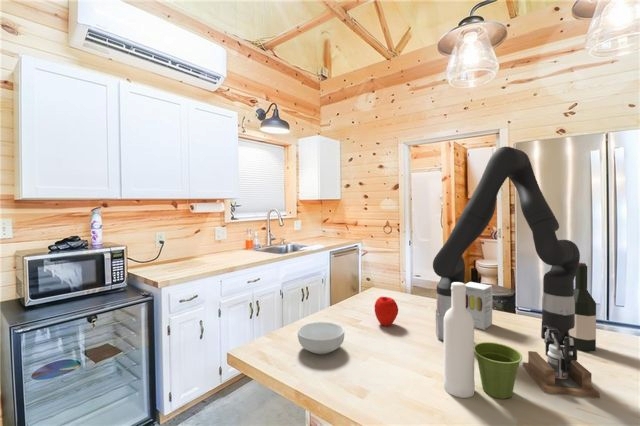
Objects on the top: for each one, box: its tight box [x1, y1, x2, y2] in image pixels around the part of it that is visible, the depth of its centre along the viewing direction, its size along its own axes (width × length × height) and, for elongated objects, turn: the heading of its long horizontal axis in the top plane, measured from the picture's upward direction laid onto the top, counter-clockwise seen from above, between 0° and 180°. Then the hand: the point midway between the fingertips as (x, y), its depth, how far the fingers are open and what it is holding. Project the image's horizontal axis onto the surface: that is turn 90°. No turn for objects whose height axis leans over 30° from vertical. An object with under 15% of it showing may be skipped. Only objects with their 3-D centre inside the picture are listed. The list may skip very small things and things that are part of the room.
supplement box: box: [464, 281, 493, 331], centre depth 133 cm, size 10×9×17 cm
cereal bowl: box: [297, 321, 345, 355], centre depth 113 cm, size 17×17×7 cm
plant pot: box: [474, 341, 523, 400], centre depth 86 cm, size 12×12×11 cm
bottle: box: [442, 282, 476, 399], centre depth 86 cm, size 8×8×30 cm
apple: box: [374, 296, 399, 327], centre depth 134 cm, size 10×10×12 cm
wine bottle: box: [569, 262, 597, 353], centre depth 110 cm, size 8×8×30 cm
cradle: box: [522, 350, 601, 398], centre depth 90 cm, size 13×14×6 cm
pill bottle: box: [546, 344, 568, 379], centre depth 91 cm, size 5×5×8 cm
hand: (557, 363), depth 90 cm, fingers open, 8 cm apart
